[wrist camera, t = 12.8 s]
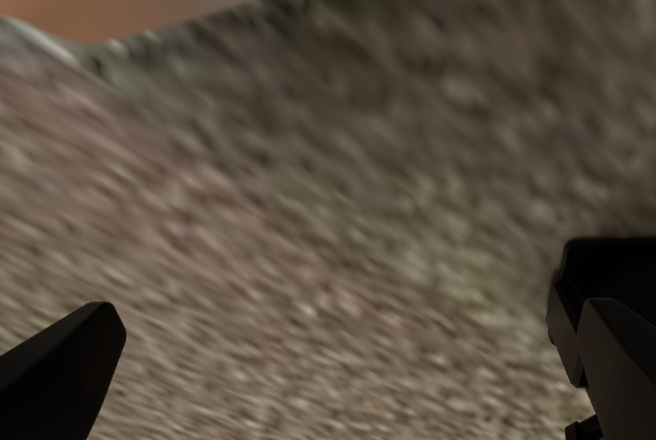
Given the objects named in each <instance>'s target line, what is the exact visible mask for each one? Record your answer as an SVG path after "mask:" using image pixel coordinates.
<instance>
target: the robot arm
mask: <svg viewBox="0 0 656 440" xmlns="http://www.w3.org/2000/svg"><path fill="white" fill-rule="evenodd" d="M576 250H581V251H580V252H579V253H574V252H575V251H576ZM546 322H547V325H548V327H549V330H548V337H549V339H550V342H551V343H552V344H554V345H556V347H557V350H558V353H559V355H560V358H561V360H562V363H563V365H564V368H565V370H566V373H567V375H568V378H569V380H570V383H571V384H572V385H573V386H575V387H576V388H585V389H586V392H587V394H588V396H589V399H590V401H591V404H592V406H593V408H594V411H595V413H596V414H595V415H593V416H591V417H589V418H587V419H585V420H583V421H581V422H580V423H579V422H577V421H576V422H574V423H572V424H570V425H569V426H567V427H565V437H566V440H656V238H641V239H602V240H576V241H572V242H570V243H568V244H567V245H566V247H565V249H564V253H563V259H562V264H561V269H560V274H559V279H558V280H556V281H555V282H554V283H553V284H552V289H551V294H550V300H549V305H548V310H547V316H546ZM125 342H126V329H125V327H124V325H123V323H122V321H121V319H120V317H119V315H118V313H117V311H116V309H115V307H114V306H113V304H111V303H110V302H90V303H87V304H85V305H84V306H82V307H80V308H79V309H77V310H76V311H74V312H72V313H71V314H69V315H67V316H66V317H64V318H62V319H61V320H59V321H57V322H56V323H54V324H52V325H51V326H49V327H47V328H46V329H44V330H42V331H41V332H39V333H37V334H36V335H34V336H33V337H31V338H29V339H28V340H26V341H24V342H23V343H21V344H19V345H18V346H16V347H14V348H13V349H11V350H9V351H8V352H6V353H4V354H3V355H1V356H0V440H86V439H87V437H88V435H89V433H90V431H91V429H92V427H93V425H94V423H95V420H96V418H97V416H98V414H99V412H100V409H101V407H102V404H103V402H104V399H105V396H106V394H107V391H108V388H109V386H110V383H111V380H112V377H113V375H114V372H115V369H116V367H117V364H118V361H119V358H120V356H121V353H122V350H123V348H124V345H125Z"/></svg>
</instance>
